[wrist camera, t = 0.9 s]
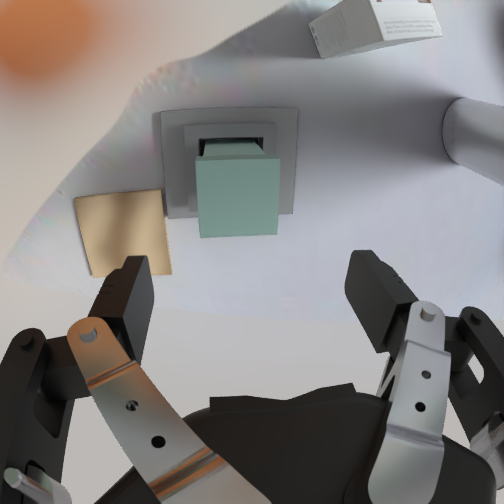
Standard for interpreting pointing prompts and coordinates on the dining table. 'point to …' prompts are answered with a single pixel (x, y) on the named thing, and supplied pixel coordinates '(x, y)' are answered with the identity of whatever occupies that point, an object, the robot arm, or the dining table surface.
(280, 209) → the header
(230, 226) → the plug
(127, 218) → the cork pad
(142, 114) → the dining table surface
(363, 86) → the dining table surface
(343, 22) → the skincare box
